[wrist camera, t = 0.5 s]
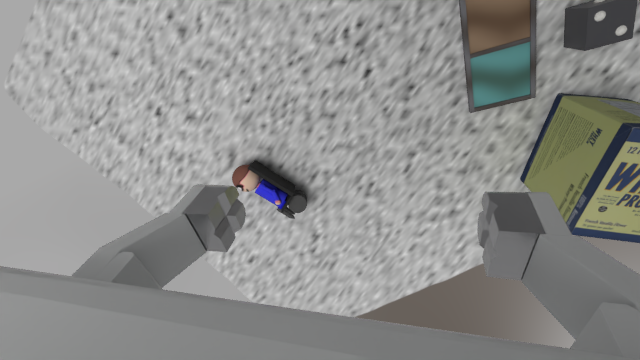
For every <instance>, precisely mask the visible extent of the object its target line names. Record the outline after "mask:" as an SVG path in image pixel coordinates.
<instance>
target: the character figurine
mask: <svg viewBox="0 0 640 360" xmlns="http://www.w3.org/2000/svg"><path fill="white" fill-rule="evenodd" d="M260 177H262V178H263V180H262V181H261V182H260ZM232 180H233V184H234V185H235V187H236V188H237V189H239V190H241V191H244V192H248V191H252V190H254V189H255V188H257V190H256V191H255V193H257V194H258V195H260V196H262V197H263V198H265V199H267V200H268V201H270V202H272V203H273V204H275V205H277V206H278V209H277V210H278V211H279V212H281V213H283V214H284V215H286V216H288V217H289V218H294V216H293V215H292V214H295V213H300V212H303V211H304V210H305V208H306V206H307V197H306V195H305V193H303V192H302V191H299V190H296V191H295V185H294V184H292V183H291V182H289V181H287V180H286V179H284V178H283V177H281V176H279V175H278V174H276V173H275V172H273V171H271V170H270V169H268V168H267V167H265V166H263V165H262V164H260V163H259V162H257V161H254V162H253V163H252V164H251V165H242V166H239V167H238V168H237V169H236V170H235V171H234V173H233V176H232ZM259 182H260V183H259ZM287 205H289V208H290V209H289V208H288V207H287ZM294 212H295V213H294Z"/></svg>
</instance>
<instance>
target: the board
mask: <svg viewBox="0 0 640 360" xmlns="http://www.w3.org/2000/svg"><path fill="white" fill-rule="evenodd" d="M459 6H460V17H461V28H462V39H463V50H464V61H465V71H466V82H467V93H468V104H469V112H470V113H472V112H476V111H481V110H485V109H489V108H493V107H497V106H501V105H506V104H510V103H514V102H518V101H522V100H526V99H531V98H535V85H536V0H459Z"/></svg>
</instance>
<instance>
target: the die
mask: <svg viewBox="0 0 640 360" xmlns="http://www.w3.org/2000/svg"><path fill="white" fill-rule="evenodd" d="M636 7H637V0H593V1H590V2H586V3H583V4H580V5H576V6H573V7H570V8H566V9H565V28H564V47H566V48H572V49H578V50H584V51H586V50H590V49H594V48H597V47H601V46H605V45H609V44H612V43H616V42H620V41H624V40H628V39H631V38H632V37H633V29H634V22H635V15H636Z"/></svg>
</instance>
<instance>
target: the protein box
mask: <svg viewBox="0 0 640 360" xmlns="http://www.w3.org/2000/svg"><path fill="white" fill-rule="evenodd" d="M520 180H521V181H522V182H523V183H524V184H525V185H526V186H527V187H528V188H529V189H530V191H531V192H547V193H549V194H550V196H551V197H552V199H553V201H554V203H555V205H556V207H557V208H558V210H559V212H560V214H561V216H562V217H563V219H564V221H565V223H566V225H567V226H568V228H569V230H570V232H571V234H572V235H579V236H587V237H595V238H603V239H612V240H620V241H628V242H636V243H640V103H638V102H634V101H631V100H628V99H619V98H608V97H596V96H584V95H571V94H557V97H556V99H555V101H554V103H553V106H552V108H551V110H550V112H549V115H548V117H547V119H546V121H545V124H544V126H543V128H542V130H541V133H540V135H539V137H538V139H537V142H536V144H535V146H534V149H533V151H532V153H531V155H530V158H529V160H528V162H527V164H526V167H525V169H524V171H523V174H522V176H521V178H520Z"/></svg>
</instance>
